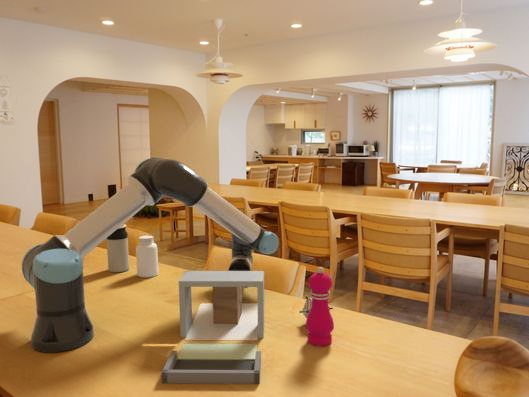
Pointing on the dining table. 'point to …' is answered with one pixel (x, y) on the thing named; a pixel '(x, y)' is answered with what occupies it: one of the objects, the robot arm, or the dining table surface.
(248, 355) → the pad
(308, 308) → the game die
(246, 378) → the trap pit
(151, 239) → the pill bottle
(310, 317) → the pepper mill
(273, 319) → the dining table surface
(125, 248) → the travel mug
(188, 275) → the tunnel
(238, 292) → the walnut block
